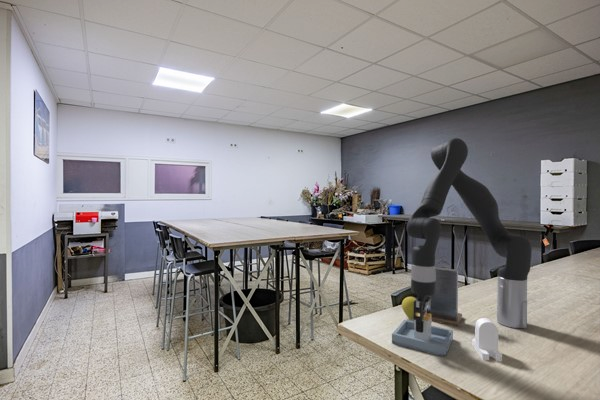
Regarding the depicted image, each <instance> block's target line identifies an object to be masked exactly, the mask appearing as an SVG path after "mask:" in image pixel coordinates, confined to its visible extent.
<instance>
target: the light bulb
mask: <svg viewBox="0 0 600 400" xmlns="http://www.w3.org/2000/svg"><path fill="white" fill-rule="evenodd" d="M416 298H417V297H414V296H407V297H405V298H404V299H403V300H402V302H401V308H402V310H403V312H404V314H405V316H406V319H405V320H408V321H413V322H414V319H413V315H414V300H416Z"/></svg>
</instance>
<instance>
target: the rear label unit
mask: <svg viewBox="0 0 600 400" xmlns="http://www.w3.org/2000/svg"><path fill="white" fill-rule="evenodd" d="M435 271H436V292H435V294H434V295H432V308H431V309H430V310H431V311H430V314H432V322H434V323H438V324H439V323H440V324H444V325H450V326H455V327H459V326H460V324H461V322H462V319H463V313H461V312H460V313H459V310H458V309H459V305H458V304H459V269H455V268H454V269H453V268H447V267H446V268H445V267H437V266H435Z"/></svg>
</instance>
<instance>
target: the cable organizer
mask: <svg viewBox="0 0 600 400" xmlns="http://www.w3.org/2000/svg"><path fill="white" fill-rule="evenodd" d="M474 329H475V330H474V338H472V340H471V342H472V347H473V348H474V349H475V351H476V352H477V353H478V355H479V357H480V358H481V359H482V360H483V361H490V357H492V358H493V359H494V360H495V361H496V362H503V354H502V353H501V351H500V350H499V329H498V327H497V325H496V324H495V323H494V322H493V321H492V320H491V319H489V318H487V317H481V318H478V319H477V321H476V322H475V325H474Z"/></svg>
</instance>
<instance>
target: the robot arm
mask: <svg viewBox="0 0 600 400" xmlns="http://www.w3.org/2000/svg"><path fill="white" fill-rule="evenodd" d="M468 155H469V148H468V145H467V143H465V141H464V140H463V139H461V138H458V137H456V138H451V139H448V140H446V141H443V142H441V143H439V144H437V145H436V146H434V147H433V148H431V151H430V156H431V160H432V162H433V164H434V165H435V166H436V168H437V169H438V172H437V174H436V175H435V176H434V178H432V180H431V182H430V183H429V184H428V185H427V187H426V189H425V191H424V194H423V196H422V199H421V201H420V204H419V205H418V206H417V208H415V210H414V212H413V213H412V214H411V216H410V217H409V219H408V221H407V223H406V232H407V235H408V236H409V237H411V238H414V239H422V240H425V242H424V244H423V245H421V244H420V245H415V246H414V247H412V249H411V251H412V252H411V253H412V254H411V268H410V270H411V271H410V277H411V278H410V291H411V292H412V294H415V295H416V296H417V297H415V298H416V300H414V315H413V319H414V320H416V331H417V332H420V333H423V327H424V315H426V313H429V314H430V311H431V310H430V309H431V308H432V295H434V294H435V292H436V271H435V267H436V250H437V246H438V243H439V240H440V236H441V233H442V225H441V222H440V221H439V219H437V218H435V217H437V216H439V215H441V213H442V211H443V208H444V206H445V203H446V200H447V197H448V194H449V192H450V189H451V187H453V188H454V190H455V191H456V194H458V196H459V197H460V199H461V200H462V201H463V203H464V205H465V206H466V208H467V209H468V211H469V212H470V213H471V214H472V216H473V217H474V219H475V220H476V221H477V223H478V225H479V227H481V229H482V230H483V232H484V233H485V236H486V237H487V239H488V242H490V244H491V247H492V249H493V250H494V252H495V253H496V254H497V255H499V256H500V257H503V258H506V260H505V265H504V266H500V267H499V268H498V269H497V287H496V288H497V290H496V291H497V294H496V296H497V297H496V299H497V300H496V301H497V304H496V306H497V307H496V310H497V311H496V321H497V323H499V324H500V325H503V326H505V327H509V328H513V329H528V275H529V274H530V271H531V267H532V266H531V265H532V264H531V263H532V244H531V242H530V240H529V239H528V238H527V237H526V236H523V235H519V234H514V233H511V232H510V231H508V229H506V227H505V226H504V224H503V223H502V221H501V219H500V216H499V206H498V201H497V200H496V198H495V197H494V196H493V194H492V193H491V191H490V190H489V189H488V187H487V186H485V185H484V184H483V183H481V182H479V181H478V180H476V179H474V178H473V177H471V176H469V175H468V174H466V173H465V172H464V171H462V167H463V165H464V164H465V162H466V161H467V158H468ZM419 313H420V317H419V316H418V314H419Z"/></svg>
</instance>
